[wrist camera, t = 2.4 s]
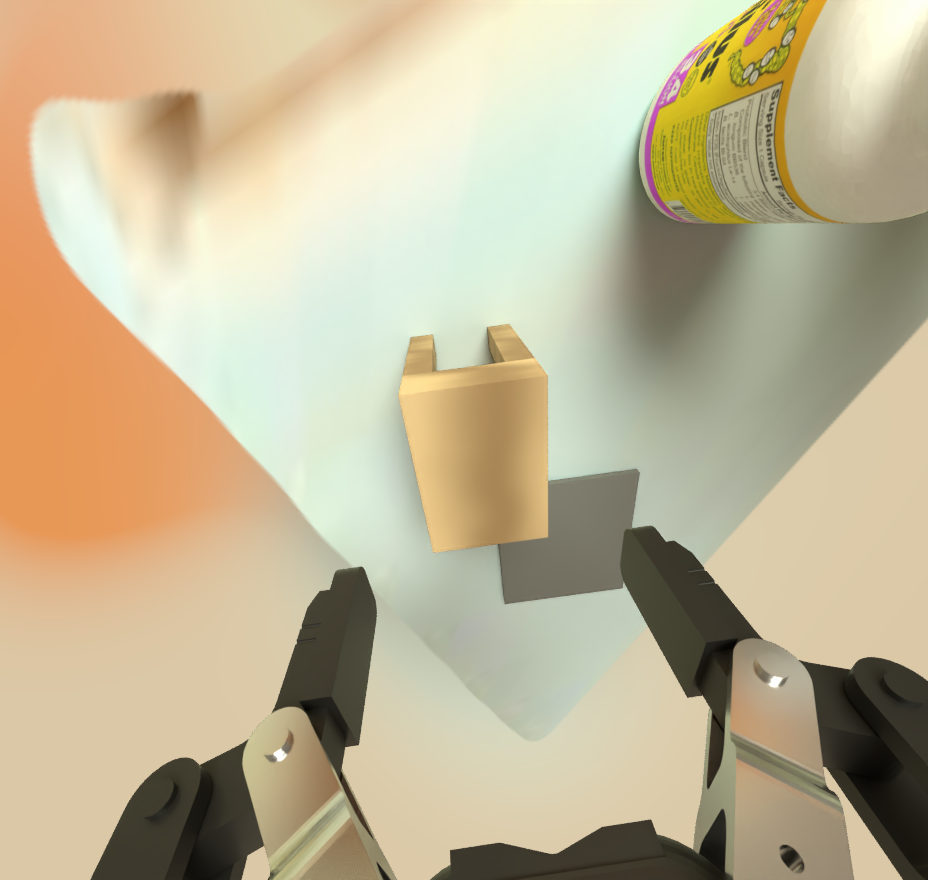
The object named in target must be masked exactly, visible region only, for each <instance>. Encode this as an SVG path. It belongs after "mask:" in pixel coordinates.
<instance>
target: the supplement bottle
mask: <svg viewBox="0 0 928 880" xmlns="http://www.w3.org/2000/svg"><path fill="white" fill-rule="evenodd" d="M639 168H640V175H641V179H642V182H643V185H644V188H645V190H646V193H647V195H648V197H649V198H650V200H651V202H652V203H653V204H654V206H655V207H656V208H657V209H658V210H659V211H660V212H662V213H663V214H664V215H666V216H668V217H669V218H671V219H674V220H677V221H680V222H684V223H695V224H740V223H879V222H888V221H893V220H898V219H903V218H908V217H912V216H915V215H918V214H922V213H925V212H927V211H928V0H760V1H759V2H757V3H756V4H754V5H753V6H751V7H750V8H749V9H747V10H746V11H744V12H743V13H742V14H740V15H739V16H737V17H736V18H734V19H733V20H732V21H730V22H729V23H727V24H726V25H724V26H723V27H722V28H720V29H719V30H717V31H716V32H714V33H713V34H712V35H710V36H709V37H707V38H706V39H705V40H704V41H702V42H701V43H699V44H698V45H697V46H696V47H694V48H693V49H692V50H691V51H689V52H688V53H687V54H686V55H685V56H684V57H683V58H682V59H681V60H680V61H679V62H678V64H677V65H676V66H675V67H674V68H673V69H672V71H671V72H670V73H669V75H668V76H667V77H666V79H665V80H664V82H663V83H662V85H661V87H660V88H659V90H658V92H657V93H656V95H655V97H654V99H653V101H652V103H651V106H650V108H649V111H648V113H647V116H646V119H645V122H644V125H643V130H642V134H641V139H640V148H639Z"/></svg>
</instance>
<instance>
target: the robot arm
mask: <svg viewBox="0 0 928 880" xmlns="http://www.w3.org/2000/svg"><path fill="white" fill-rule="evenodd" d="M620 570H621V574H622V578H623V581H624V583H625V585H626V587H627V589H628V591H629V592H630V594H631V596H632V598H633V600H634V602H635V603H636V605H637V607H638V609H639V611H640V612H641V614H642V616H643V618H644V620H645V621H646V623H647V625H648V627H649V629H650V631H651V632H652V634H653V636H654V638H655V639H656V641H657V643H658V645H659V647H660V649H661V650H662V652H663V654H664V656H665V658H666V660H667V661H668V663H669V665H670V667H671V669H672V671H673V672H674V674H675V676H676V678H677V680H678V681H679V683H680V685H681V687H682V689H683V691H684V692H685V694H686V696H687V698H689V697H695V696H702V695H703V697H704V698H705V700H706V702H707V703H708V705H709V707H710V709H709V713H708V725H707V737H706V750H705V763H704V774H703V786H702V787H703V788H702V795H701V801H700V805H699V810H698V815H697V820H696V826H695V834H694V845H693V849H691V848H689V847H687V846H685V845H683V844H681V843H680V842H678V841H675V840H673V839H670V838H667V837H665V836H661V835H657V834H656V831H655V828H654V826H653V823H652V821H651V820H645V821H639V822H632V823H625V824H620V825H612V826H606V827H601V828H600V829H598V830H596V831H595V832H593V833H591V834H590V835H588V836H586V837H584V838H583V839H581V840H579V841H578V842H576V843H574V844H573V845H571V846H570V847H568V848H566V849H564V850H563V851H561V852H559V853H557V854H548V853H543V852H539V851H535V850H530V849H525V848H521V847H517V846H512V845H508V844H503V843H495V844H488V845H481V846H476V847H468V848H462V849H456V850H450V859H451V860H450V862H451V865H450V866H448V867H446V868H444V869H443V870H441V871H440V872H439V873H438V874H436V875H435V876H434V877H433V878H432V879H431V880H854V876H853V870H852V863H851V856H850V850H849V843H848V836H847V829H846V823H845V817H844V812H843V808H842V805H841V802H840V800H839V798H838V796H837V795H836V794H835V793H834V792H833V791H831V790H829V789H828V787H827V785H826V782H825V777H824V770H823V767H826V768H827V769H828V771H829V772H830V774H831V775H832V777H833V778H834V779H835V781H836V782H837V784H838V785H839V787H840V788H841V790H842V791H843V793H844V794H845V796H846V797H847V798H848V800H849V801H850V803H851V804H852V806H853V807H854V809H855V810H856V811H857V813H858V814H859V816H860V817H861V819H862V820H863V822H864V823H865V825H866V826H867V827H868V829H869V831H870V832H871V834H872V835H873V836H874V838H875V839H876V841H877V842H878V844H879V845H880V847H881V848H882V849H883V851H884V853H885V854H886V855H887V856H888V858H889V860H890V861H891V863H892V864H893V865H894V867H895V868H896V870H897V871H898V873H899V874H900V876H901V877H902V879H903V880H928V681H927V680H926V679H924V678H923V677H921V676H920V675H918V674H917V673H915V672H914V671H912V670H910V669H908V668H906V667H904V666H902V665H900V664H898V663H895V662H892V661H889V660H886V659H882V658H875V657H867V658H863V659H860V660H858V661H857V662H856V663H855V665H854V666H853V667H852V669H851V670H849V669H843V668H838V667H831V666H826V665H820V664H814V663H808V662H804V661H800V660H798V659H797V658H796V657H795V656H793V655H792V654H791V653H790V652H788V651H787V650H785V649H784V648H782V647H780V646H778V645H776V644H774V643H772V642H768V641H766V640H763V639H762V638H761V637H760V636H759V635H758V633H757V632H756V631H755V630H754V629H753V628H752V626H751V625H750V624H749V623H748V621H747V620H746V619H745V618H744V616H743V615H742V614H741V613H740V612H739V610H738V609H737V608H736V607H735V605H734V604H733V603H732V602H731V600H730V599H729V598H728V597H727V596H726V594H725V593H724V592H723V591H722V589H721V588H720V587H719V586H718V584H715V582H714V580H713V578H712V577H711V576H710V575H709V573H708V572H707V571H705V570H704V567H703V566H702V565H701V563H700V562H699V561H698V560H697V559H696V557H695V556H694V555H693V554H692V553H691V552H690V551H688V550H687V549H686V548H684V547H683V546H681V545H680V544H678V543H677V542H675V541H669V542H666V541H665V540H664V539H663V537H662V536H661V535H660V533H659V532H658V531H657V530H656V528H654V527H653V526H645V527H638V528H631V529H626V530H625V532H624V537H623V545H622V552H621V560H620ZM376 614H377V610H376V601H375V597H374V595H373V592H372V589H371V586H370V584H369V581H368V578H367V575H366V572H365V570H364V568H363V567H355V568H348V569H342V570H337V571H336V572H335V574H334V578H333V581H332V585H331V588H330V590H326V591H320V592H319V593H318V594H317V596H316V597H315V598H314V600H313V601H312V603H311V604H310V605H309V607H308V608H307V611H306V614H305V618H304V620H303V623H302V629H301V630H300V633H299V636H298V639H297V644H296V645H295V648H294V651H293V654H292V657H291V660H290V663H289V666H288V669H287V672H286V675H285V678H284V681H283V685H282V687H281V690H280V694H279V697H278V700H277V702H276V705H275V708H274V709H273V711H272V713H271V714H270V715H269V716H268V717H266V718H265V719H264V720H263V721H262V722H261V723H260V724H259V725H258V726H257V728H256V729H255V730H254V732H253V733H252V735H251V736H250V738H249V739H248V740H247V741H245V742H244V743H242V744H240V745H239V746H237V747H235V748H233V749H231V750H229V751H227V752H225V753H223V754H221V755H219V756H217V757H215V758H213V759H211V760H209V761H207V762H205V763H203V764H201V765H199V764H198V763H197V762H195V761H194V760H193V759H191V758H179V759H175V760H172V761H171V762H168V763H166V764H165V765H163V766H161V767H160V768H159V769H158V770H156V771H155V772H154V773H152V774H151V775H150V776H149V777H148V778H147V779H146V780H145V781H144V782H143V783H142V785H140V787H139V788H138V789H137V791H136V792H135V793H134V795H133V796H132V798H131V799H130V801H129V802H128V804H127V806H126V808H125V810H124V812H123V814H122V816H121V818H120V820H119V822H118V824H117V826H116V828H115V830H114V832H113V835H112V837H111V839H110V841H109V843H108V845H107V847H106V849H105V851H104V853H103V855H102V857H101V859H100V861H99V863H98V865H97V867H96V869H95V871H94V873H93V876H92V878H91V880H241V879H242V875H243V871H244V868H245V863H246V860H247V856H248V855H249V854H251V853H252V852H254V851H256V850H258V849H259V848H261V847H263V846H265V850H266V853H267V857H268V861H269V865H270V877H269V878H268V880H397V879H396V877H395V875H394V873H393V871H392V869H391V867H390V865H389V863H388V861H387V860H386V858H385V856H384V854H383V852H382V851H381V849H380V847H379V845H378V843H377V841H376V839H375V837H374V835H373V833H372V831H371V828H370V826H369V824H368V822H367V820H366V818H365V816H364V814H363V812H362V810H361V808H360V805H359V804H358V801H357V799H356V797H355V795H354V793H353V791H352V789H351V787H350V785H349V783H348V780H347V778H346V776H345V774H344V772H343V770H342V763H343V757H344V750H345V747H349V746H356V745H359V740H360V733H361V725H362V719H363V712H364V705H365V697H366V690H367V683H368V675H369V669H370V661H371V654H372V647H373V639H374V633H375V626H376V617H377V615H376Z"/></svg>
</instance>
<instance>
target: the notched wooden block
mask: <svg viewBox="0 0 928 880" xmlns="http://www.w3.org/2000/svg"><path fill="white" fill-rule="evenodd" d="M487 328H488V340H489V349H490V352H491V354H492V356H493V359H494V361H495V364H487V365H480V366H472V367H465V368H458V369H450V370H443V371H436V352H435V345H434V339H433V335H426V336H418V337H411V339H410V344H409V349H408V353H407V358H406V362H405V367H404V372H403V376H402V381H401V385H400V390H399V395H398V396H399V401H400V405H401V410H402V414H403V419H404V423H405V428H406V432H407V437H408V441H409V446H410V450H411V455H412V459H413V464H414V468H415V473H416V477H417V482H418V486H419V490H420V495H421V499H422V504H423V508H424V513H425V517H426V522H427V526H428V531H429V535H430V540H431V544H432V549H433V553H435V552H442V551H450V550H457V549H465V548H472V547H480V546H487V545H494V544H502V543H509V542H517V541H524V540H532V539H539V538H546V537H548V375H547V374H546V373H545V371H544V370H543V369H542V367H541V366H540V365H539V363H538V362H537V361H536V359H535V358H534V357H533V355H532V354H531V353H530V351H529V350H528V349H527V347H526V346H525V345H524V343H523V342H522V341H521V339H520V338H519V337H518V335H517V334H516V333H515V331H514V330H513V329H512V327H511V326H510V325H509V324H507V325H500V326H492V327H487Z"/></svg>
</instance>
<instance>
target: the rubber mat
mask: <svg viewBox="0 0 928 880" xmlns="http://www.w3.org/2000/svg"><path fill="white" fill-rule="evenodd" d="M639 473H640V472H639V471H638V470H637V469H635V470H627V471H620V472H612V473H605V474H598V475H590V476H583V477H575V478H568V479H560V480H553V481H548V537H546V538H539V539H532V540H524V541H517V542H509V543H502V544H499V550H500V560H501V570H502V581H503V591H504V601H505V604H508V603H516V602H523V601H530V600H538V599H545V598H553V597H560V596H568V595H575V594H582V593H590V592H597V591H605V590H612V589H620V588H623V578H622V574H621V570H620V560H621V552H622V545H623V537H624V532H625V530H626V529H631V527H632V520H633V514H634V507H635V500H636V493H637V487H638V480H639Z"/></svg>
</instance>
